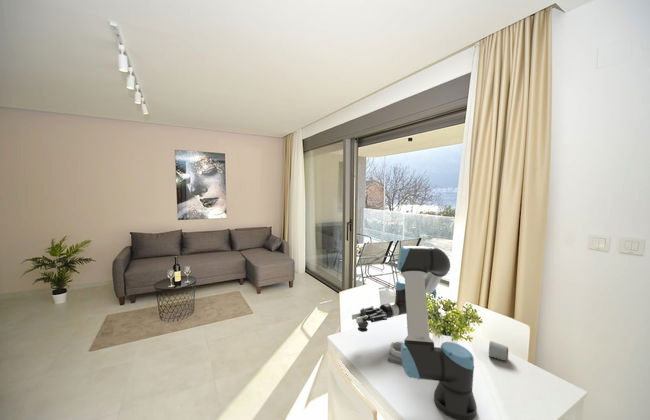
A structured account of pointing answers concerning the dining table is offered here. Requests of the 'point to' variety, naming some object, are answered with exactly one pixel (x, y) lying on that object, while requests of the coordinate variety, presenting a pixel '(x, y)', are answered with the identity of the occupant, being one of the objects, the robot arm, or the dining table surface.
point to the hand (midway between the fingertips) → (354, 318)
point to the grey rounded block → (498, 351)
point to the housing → (395, 353)
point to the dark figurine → (363, 324)
